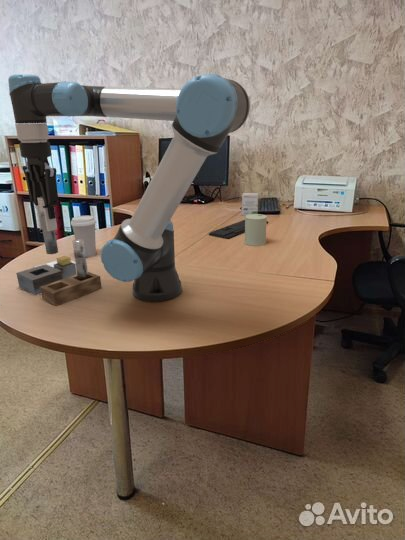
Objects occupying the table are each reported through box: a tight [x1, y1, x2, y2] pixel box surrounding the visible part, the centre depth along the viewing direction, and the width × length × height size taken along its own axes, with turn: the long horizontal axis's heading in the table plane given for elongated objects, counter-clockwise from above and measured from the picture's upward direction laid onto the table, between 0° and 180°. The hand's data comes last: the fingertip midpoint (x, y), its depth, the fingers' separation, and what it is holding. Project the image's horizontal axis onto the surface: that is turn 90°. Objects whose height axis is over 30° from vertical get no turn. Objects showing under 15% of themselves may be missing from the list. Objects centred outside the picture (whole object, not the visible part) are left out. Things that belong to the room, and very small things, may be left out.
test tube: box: [72, 239, 89, 281], centre depth 120 cm, size 3×3×16 cm
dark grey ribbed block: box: [208, 219, 269, 240], centre depth 187 cm, size 35×11×2 cm, turn 141°
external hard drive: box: [32, 260, 76, 268], centre depth 142 cm, size 2×8×12 cm
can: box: [244, 213, 268, 247], centre depth 164 cm, size 9×9×12 cm
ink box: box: [241, 192, 259, 217], centre depth 212 cm, size 8×5×12 cm, turn 82°
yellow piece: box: [56, 255, 72, 267], centre depth 131 cm, size 3×3×6 cm
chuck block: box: [16, 262, 77, 296], centre depth 127 cm, size 10×16×5 cm, turn 141°
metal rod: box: [37, 196, 59, 255], centre depth 109 cm, size 3×3×16 cm
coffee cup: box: [70, 215, 97, 258], centre depth 152 cm, size 10×10×15 cm
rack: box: [40, 271, 102, 307], centre depth 119 cm, size 16×7×4 cm, turn 140°
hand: (48, 228), depth 109 cm, fingers closed on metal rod, 3 cm apart
